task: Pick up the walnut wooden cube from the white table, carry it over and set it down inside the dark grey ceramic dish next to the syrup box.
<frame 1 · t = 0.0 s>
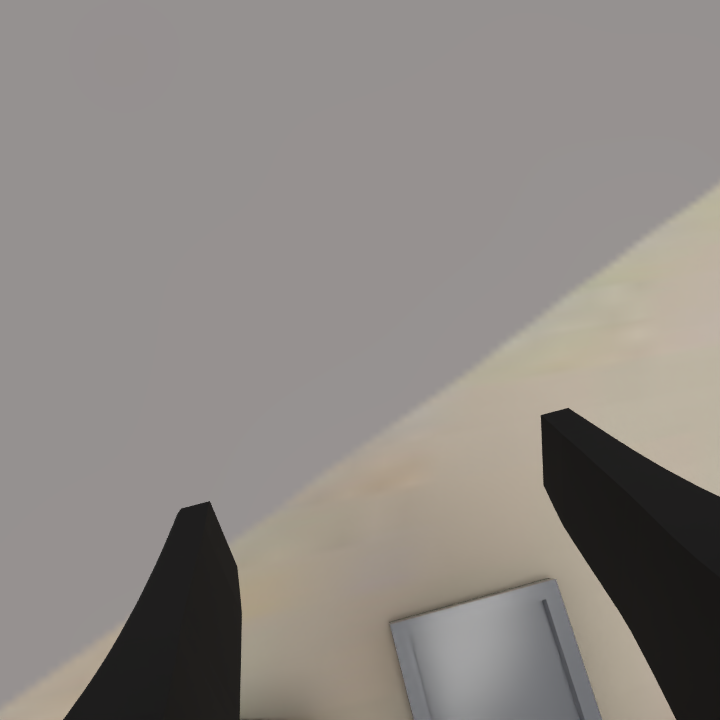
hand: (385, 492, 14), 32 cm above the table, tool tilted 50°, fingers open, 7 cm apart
grey dish: (495, 688, 42), on the table
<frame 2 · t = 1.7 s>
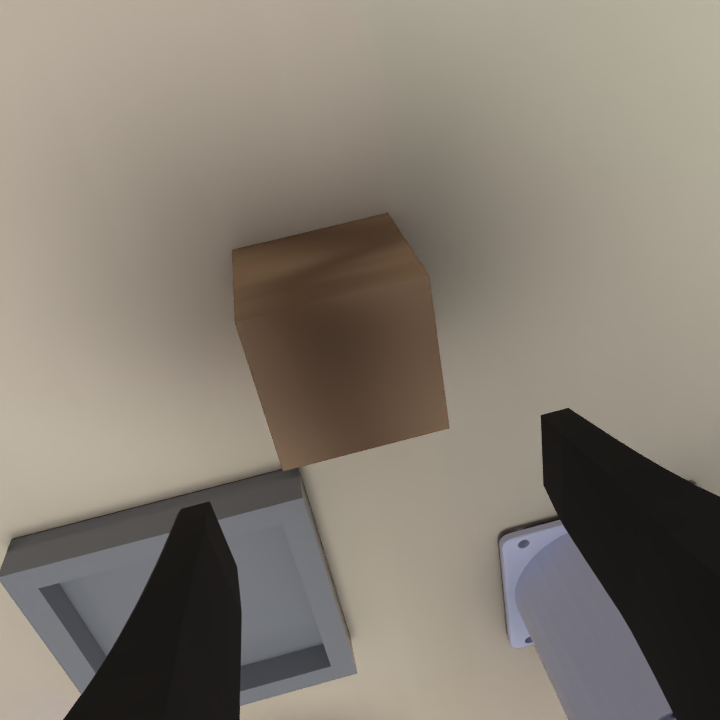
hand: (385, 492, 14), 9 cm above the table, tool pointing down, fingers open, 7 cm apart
grey dish: (200, 595, 28), on the table
walnut cube: (326, 300, 22), on the table
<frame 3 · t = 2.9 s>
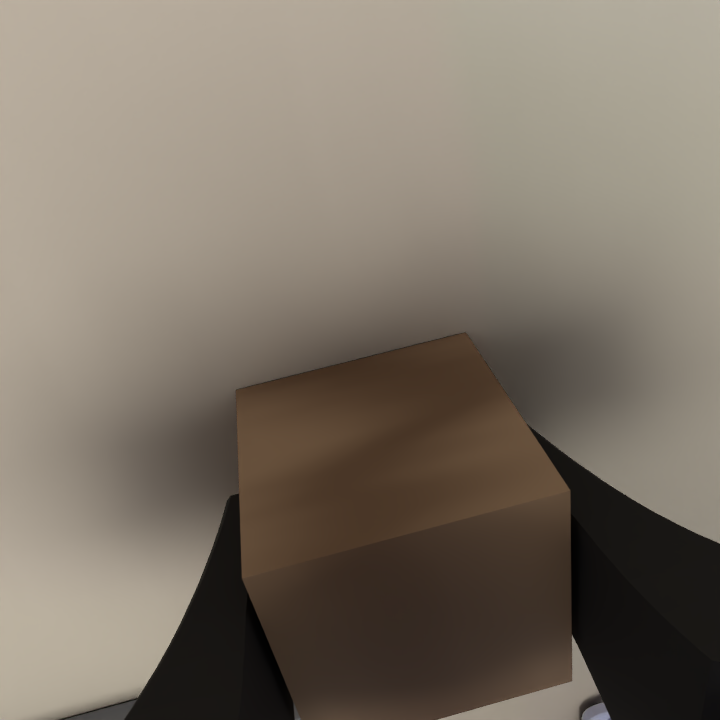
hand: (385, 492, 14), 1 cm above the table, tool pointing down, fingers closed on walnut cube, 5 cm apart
walnut cube: (371, 450, 15), on the table, touching gripper
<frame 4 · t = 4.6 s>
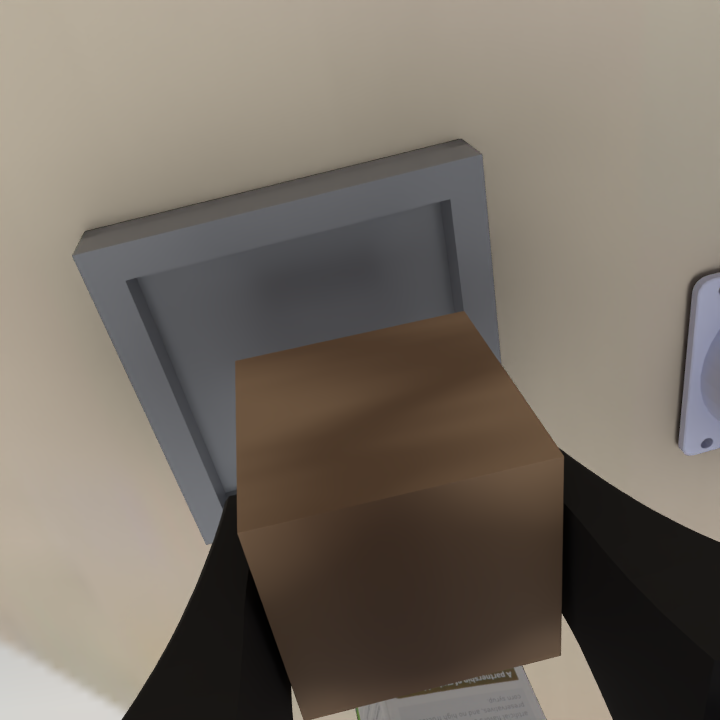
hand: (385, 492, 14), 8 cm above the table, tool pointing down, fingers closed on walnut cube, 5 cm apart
syrup box: (412, 614, 30), on the table
grey dish: (318, 346, 22), on the table
walnut cube: (367, 427, 15), point 7 cm above the table, touching gripper
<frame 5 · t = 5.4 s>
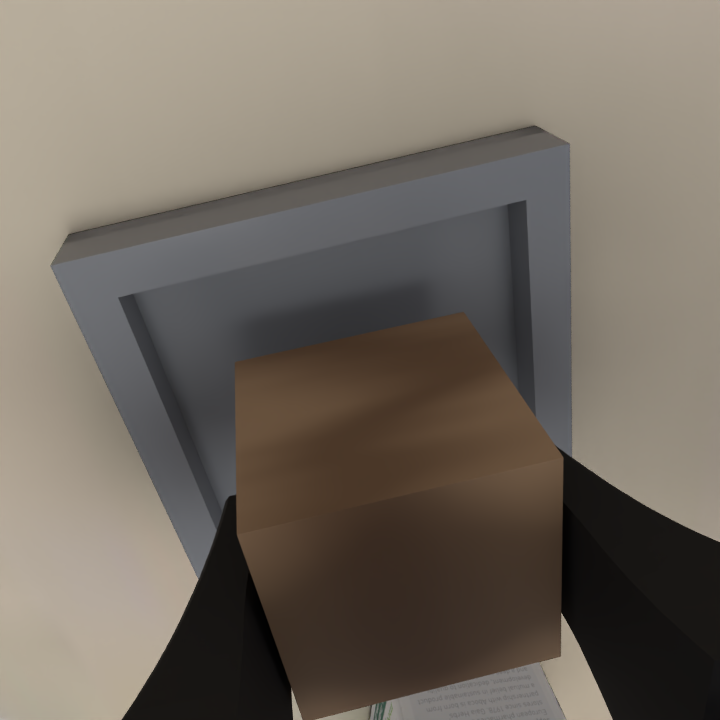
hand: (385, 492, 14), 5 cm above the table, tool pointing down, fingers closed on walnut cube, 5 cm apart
syrup box: (443, 672, 26), on the table
grey dish: (350, 375, 18), on the table
walnut cube: (367, 428, 15), point 3 cm above the table, touching gripper
when the fingers open (3 cm above the table, at t = 6.2 s): walnut cube stays where it is, resting on grey dish.
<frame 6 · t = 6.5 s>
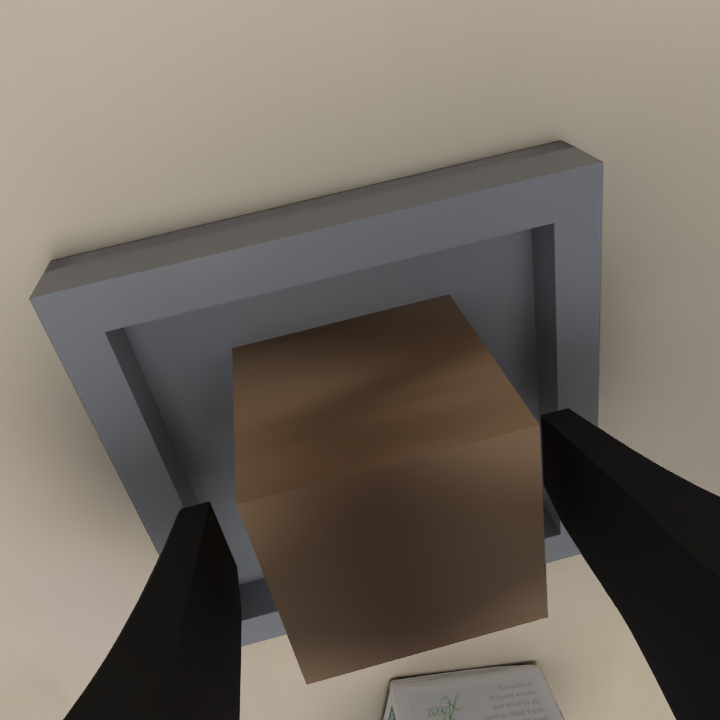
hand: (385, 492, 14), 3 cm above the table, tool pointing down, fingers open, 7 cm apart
syrup box: (453, 709, 25), on the table
grey dish: (358, 406, 17), on the table
walnut cube: (361, 409, 16), point 1 cm above the table, touching grey dish
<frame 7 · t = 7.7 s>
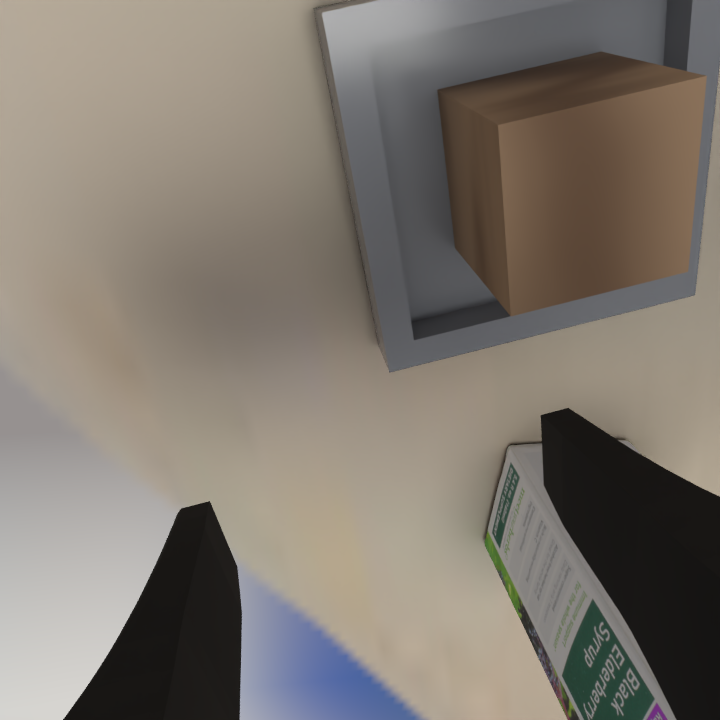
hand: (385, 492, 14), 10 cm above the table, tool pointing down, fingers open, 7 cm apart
syrup box: (553, 486, 29), on the table
grey dish: (516, 161, 21), on the table
walnut cube: (523, 155, 21), point 1 cm above the table, touching grey dish
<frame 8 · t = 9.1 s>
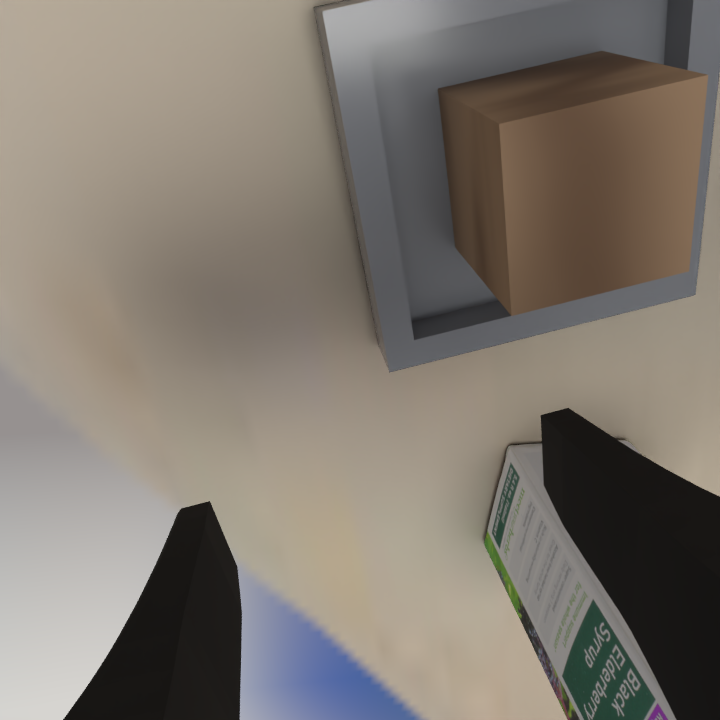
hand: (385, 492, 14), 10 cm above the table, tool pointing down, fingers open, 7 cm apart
syrup box: (552, 487, 29), on the table
grey dish: (516, 161, 21), on the table
walnut cube: (524, 154, 20), point 1 cm above the table, touching grey dish
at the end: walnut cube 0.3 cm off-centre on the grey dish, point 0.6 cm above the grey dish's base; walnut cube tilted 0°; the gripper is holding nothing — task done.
